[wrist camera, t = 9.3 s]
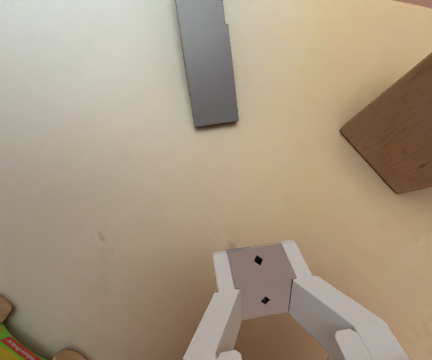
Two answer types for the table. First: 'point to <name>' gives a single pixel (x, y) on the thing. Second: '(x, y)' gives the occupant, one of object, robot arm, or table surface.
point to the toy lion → (15, 352)
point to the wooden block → (398, 131)
